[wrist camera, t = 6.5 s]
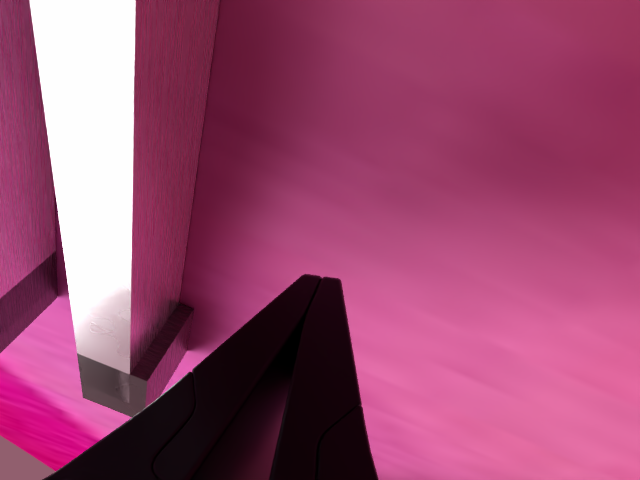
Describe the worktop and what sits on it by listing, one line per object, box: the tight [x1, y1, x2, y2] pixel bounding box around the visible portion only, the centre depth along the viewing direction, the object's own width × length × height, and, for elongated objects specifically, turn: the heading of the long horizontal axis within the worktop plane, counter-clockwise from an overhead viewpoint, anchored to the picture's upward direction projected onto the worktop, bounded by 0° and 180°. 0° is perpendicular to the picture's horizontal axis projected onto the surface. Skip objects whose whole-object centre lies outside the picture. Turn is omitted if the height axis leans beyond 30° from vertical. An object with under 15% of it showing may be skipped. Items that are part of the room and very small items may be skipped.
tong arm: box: [30, 0, 220, 417], centre depth 9 cm, size 22×3×4 cm, turn 162°
